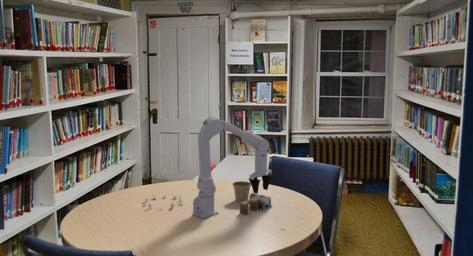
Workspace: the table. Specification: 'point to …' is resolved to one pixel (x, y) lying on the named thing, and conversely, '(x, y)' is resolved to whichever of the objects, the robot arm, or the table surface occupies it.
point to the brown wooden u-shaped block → (244, 206)
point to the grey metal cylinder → (261, 198)
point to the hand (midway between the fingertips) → (260, 191)
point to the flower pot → (241, 190)
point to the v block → (263, 206)
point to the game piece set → (164, 198)
